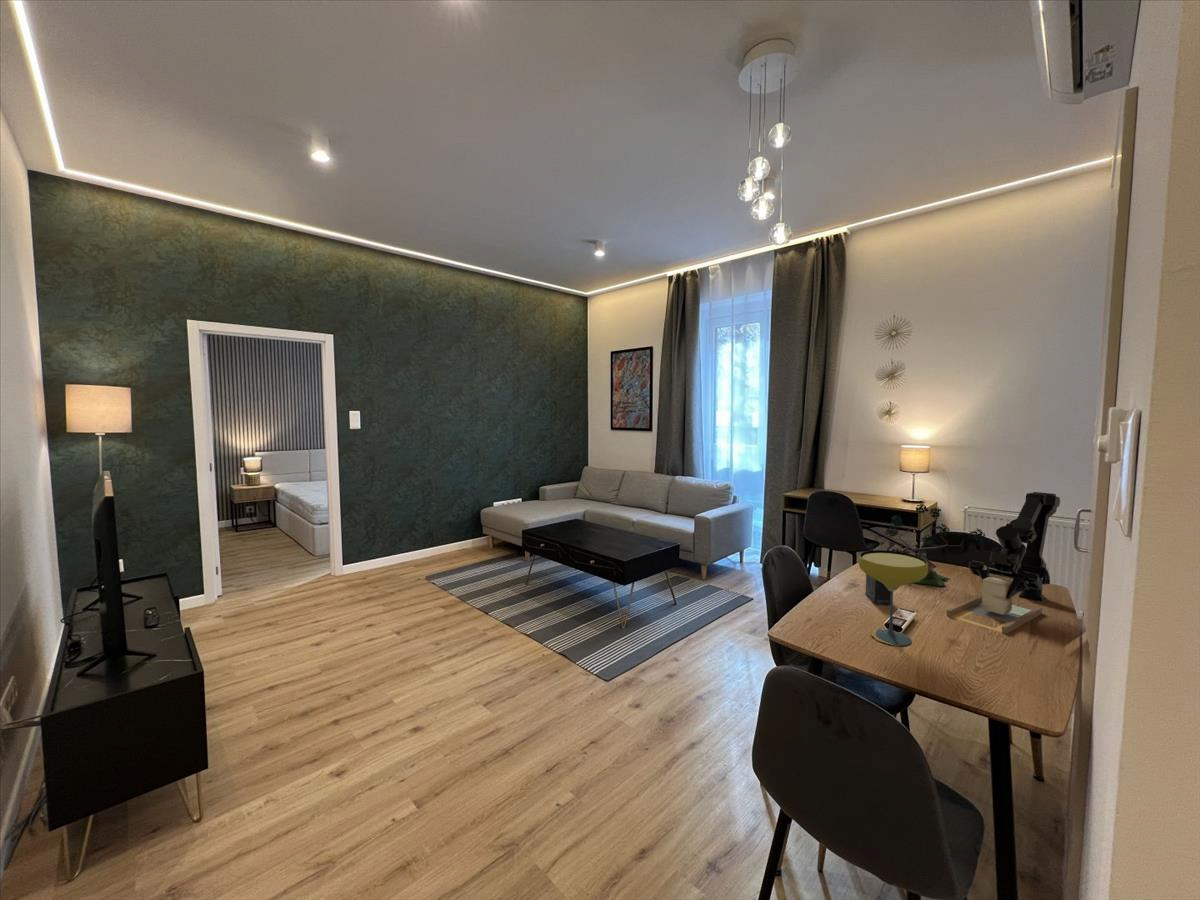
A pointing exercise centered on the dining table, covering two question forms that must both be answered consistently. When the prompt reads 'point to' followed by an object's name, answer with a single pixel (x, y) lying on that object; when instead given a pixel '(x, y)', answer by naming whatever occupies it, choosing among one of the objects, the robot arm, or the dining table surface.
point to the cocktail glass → (893, 580)
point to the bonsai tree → (931, 574)
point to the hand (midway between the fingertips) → (995, 595)
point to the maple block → (996, 595)
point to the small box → (877, 591)
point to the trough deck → (994, 614)
